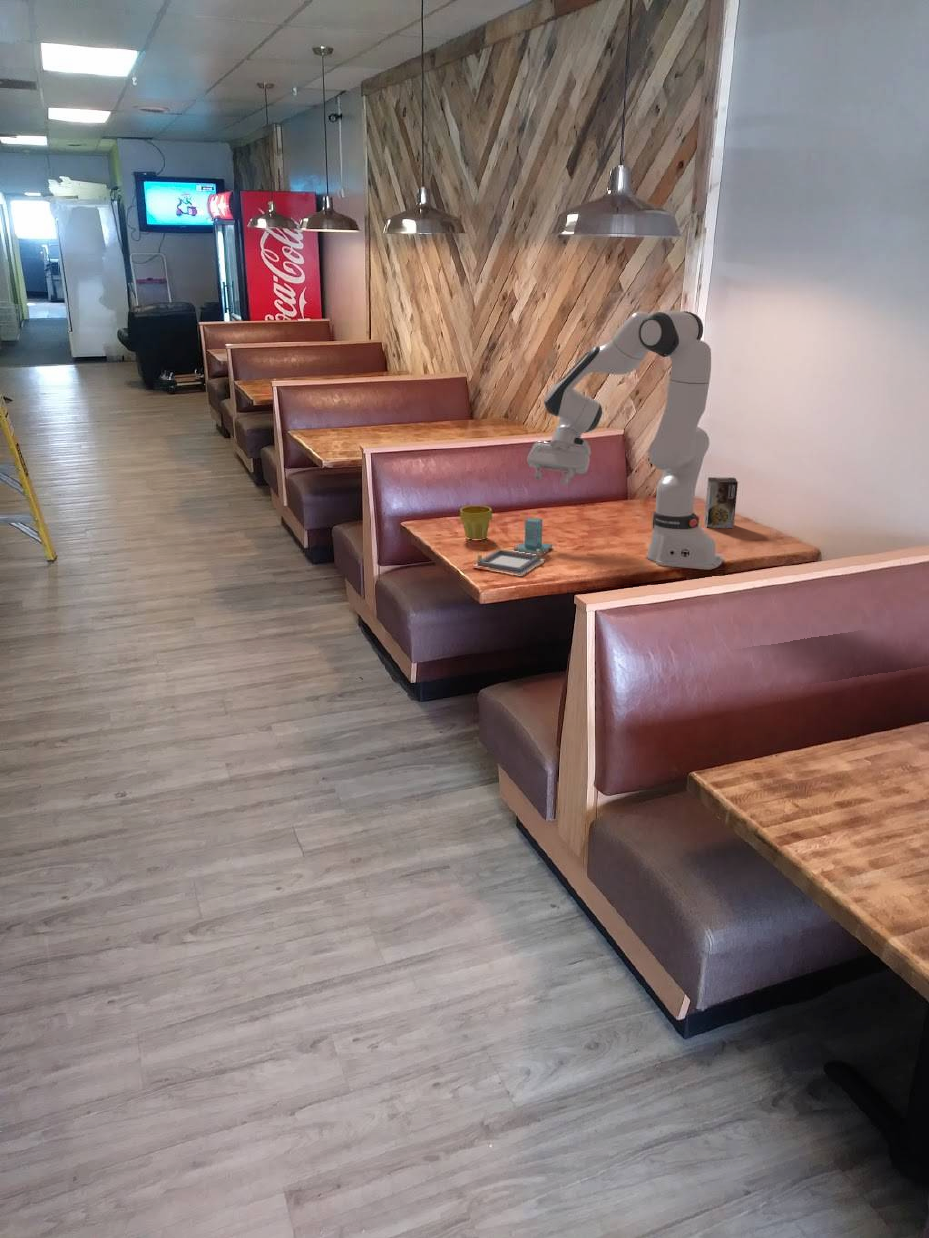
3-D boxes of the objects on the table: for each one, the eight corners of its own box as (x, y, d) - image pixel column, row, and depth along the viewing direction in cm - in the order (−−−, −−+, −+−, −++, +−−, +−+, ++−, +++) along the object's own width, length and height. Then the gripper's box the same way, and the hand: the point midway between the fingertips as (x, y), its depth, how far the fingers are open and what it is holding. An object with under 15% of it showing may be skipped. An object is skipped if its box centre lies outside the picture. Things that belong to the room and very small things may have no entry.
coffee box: (730, 523, 312) (735, 477, 306) (733, 528, 306) (738, 481, 300) (703, 522, 313) (707, 476, 307) (706, 528, 307) (710, 481, 301)
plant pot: (453, 537, 297) (453, 508, 294) (477, 532, 304) (477, 503, 300) (474, 544, 290) (474, 515, 286) (498, 538, 296) (498, 509, 293)
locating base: (544, 561, 274) (545, 549, 272) (521, 577, 260) (522, 563, 259) (497, 554, 281) (497, 541, 279) (472, 568, 268) (472, 555, 266)
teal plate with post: (552, 548, 286) (553, 518, 282) (540, 556, 279) (541, 525, 275) (526, 544, 290) (527, 514, 286) (514, 552, 283) (514, 521, 279)
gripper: (532, 435, 293) (518, 470, 289) (591, 441, 284) (578, 478, 280) (537, 446, 299) (523, 481, 295) (595, 453, 290) (582, 489, 286)
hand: (550, 480), depth 287 cm, fingers open, 8 cm apart
